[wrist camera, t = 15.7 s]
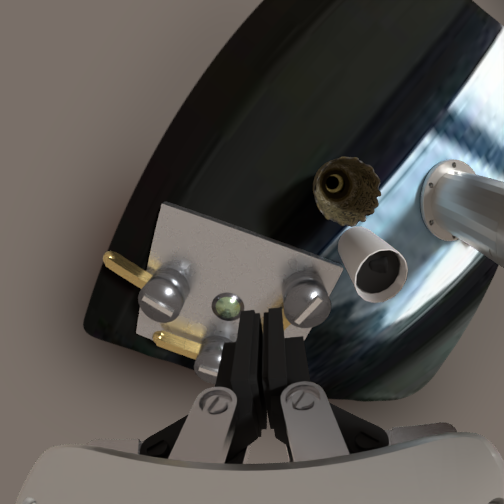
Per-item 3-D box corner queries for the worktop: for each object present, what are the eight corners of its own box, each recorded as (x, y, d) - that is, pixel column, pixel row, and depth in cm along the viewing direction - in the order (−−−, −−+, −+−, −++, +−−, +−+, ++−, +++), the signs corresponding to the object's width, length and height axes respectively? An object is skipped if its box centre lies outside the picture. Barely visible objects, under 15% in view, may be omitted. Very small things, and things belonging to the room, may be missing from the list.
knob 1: (196, 281, 40) (186, 301, 34) (179, 310, 42) (168, 332, 36) (116, 233, 37) (97, 246, 32) (105, 265, 39) (86, 281, 34)
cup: (294, 194, 36) (302, 207, 29) (319, 144, 34) (334, 144, 26) (342, 219, 37) (361, 237, 29) (367, 172, 34) (392, 179, 27)
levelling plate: (341, 264, 39) (343, 268, 38) (279, 374, 47) (279, 380, 46) (165, 201, 37) (161, 203, 36) (139, 328, 45) (135, 333, 44)
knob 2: (301, 262, 38) (306, 281, 33) (332, 285, 39) (341, 306, 34) (241, 327, 42) (238, 351, 37) (272, 346, 43) (273, 370, 38)
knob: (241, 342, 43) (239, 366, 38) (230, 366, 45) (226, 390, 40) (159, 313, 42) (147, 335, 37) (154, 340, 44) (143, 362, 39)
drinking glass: (330, 229, 37) (350, 257, 28) (375, 218, 37) (406, 242, 27) (338, 272, 40) (357, 309, 30) (380, 261, 39) (408, 294, 29)
